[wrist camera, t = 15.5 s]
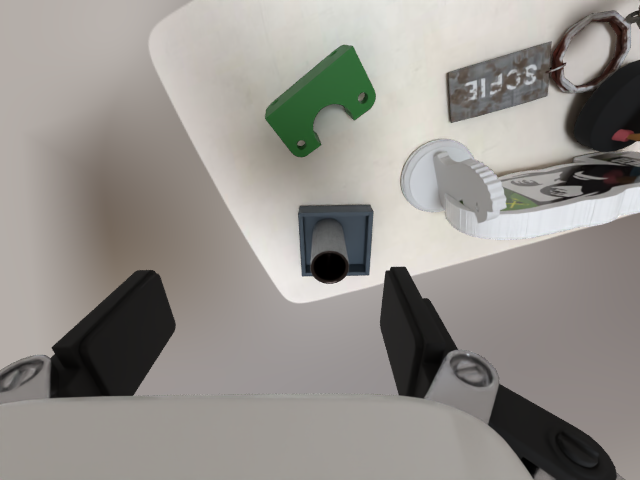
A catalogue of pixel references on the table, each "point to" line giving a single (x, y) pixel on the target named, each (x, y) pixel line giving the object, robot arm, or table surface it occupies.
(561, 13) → the table surface
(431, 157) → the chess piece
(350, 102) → the clamp
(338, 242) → the grey tube
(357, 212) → the bin
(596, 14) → the keychain
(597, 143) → the figurine
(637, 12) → the toy robot
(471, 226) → the cutout
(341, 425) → the robot arm
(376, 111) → the table surface
